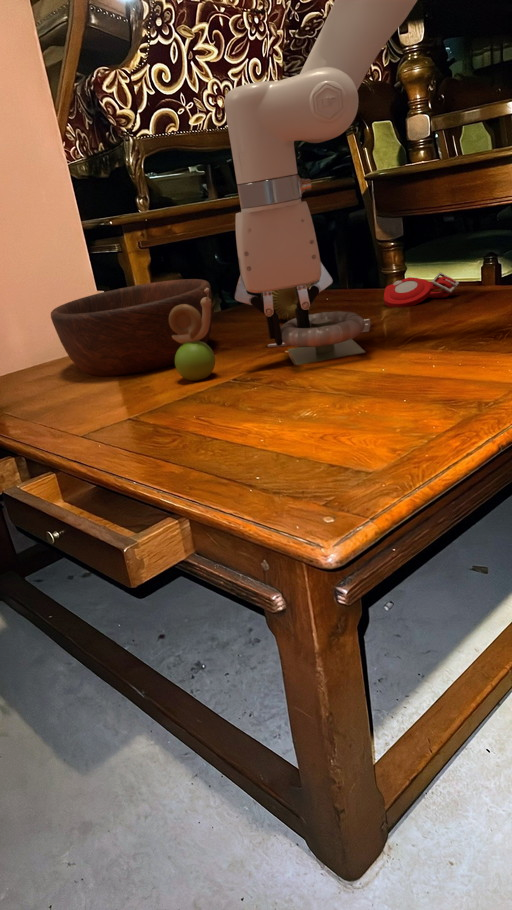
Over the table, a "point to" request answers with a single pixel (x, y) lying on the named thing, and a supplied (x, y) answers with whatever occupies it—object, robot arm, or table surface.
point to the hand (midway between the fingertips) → (290, 339)
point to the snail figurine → (192, 340)
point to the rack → (323, 348)
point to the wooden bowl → (126, 326)
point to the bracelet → (323, 330)
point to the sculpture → (287, 302)
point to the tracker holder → (417, 290)
